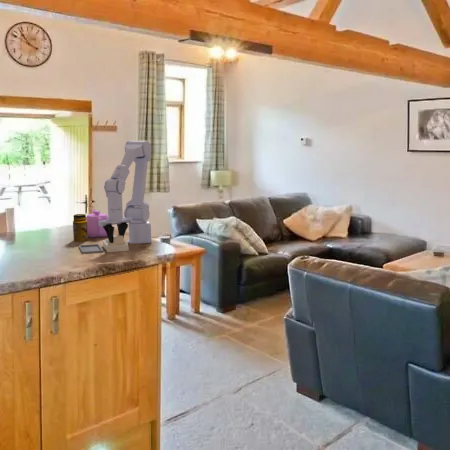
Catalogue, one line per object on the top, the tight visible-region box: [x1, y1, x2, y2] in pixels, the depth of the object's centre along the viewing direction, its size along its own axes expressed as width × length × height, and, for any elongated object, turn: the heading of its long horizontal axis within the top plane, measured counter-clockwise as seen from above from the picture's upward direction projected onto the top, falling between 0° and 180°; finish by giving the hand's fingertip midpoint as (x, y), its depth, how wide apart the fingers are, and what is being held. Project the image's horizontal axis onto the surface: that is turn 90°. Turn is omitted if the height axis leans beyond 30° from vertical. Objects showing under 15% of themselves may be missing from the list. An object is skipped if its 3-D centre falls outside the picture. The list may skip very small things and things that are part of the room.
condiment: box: [72, 213, 89, 243], centre depth 227 cm, size 7×8×12 cm
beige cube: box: [110, 234, 124, 245], centre depth 209 cm, size 4×4×4 cm
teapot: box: [86, 208, 110, 239], centre depth 241 cm, size 20×13×12 cm, turn 23°
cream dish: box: [102, 239, 129, 253], centre depth 212 cm, size 8×12×3 cm
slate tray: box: [78, 243, 105, 255], centre depth 210 cm, size 8×13×1 cm, turn 21°
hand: (116, 242), depth 209 cm, fingers closed on beige cube, 4 cm apart
